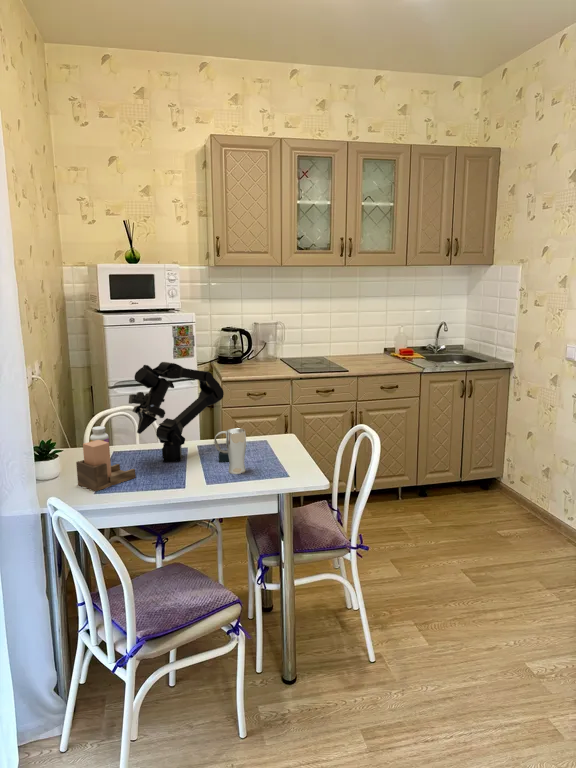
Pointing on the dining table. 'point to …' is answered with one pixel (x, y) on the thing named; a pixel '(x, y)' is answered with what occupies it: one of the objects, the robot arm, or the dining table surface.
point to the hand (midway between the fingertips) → (138, 433)
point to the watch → (223, 453)
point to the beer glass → (236, 450)
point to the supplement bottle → (99, 434)
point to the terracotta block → (97, 454)
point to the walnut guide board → (101, 475)
